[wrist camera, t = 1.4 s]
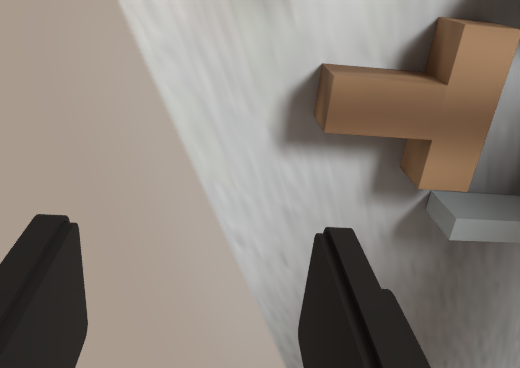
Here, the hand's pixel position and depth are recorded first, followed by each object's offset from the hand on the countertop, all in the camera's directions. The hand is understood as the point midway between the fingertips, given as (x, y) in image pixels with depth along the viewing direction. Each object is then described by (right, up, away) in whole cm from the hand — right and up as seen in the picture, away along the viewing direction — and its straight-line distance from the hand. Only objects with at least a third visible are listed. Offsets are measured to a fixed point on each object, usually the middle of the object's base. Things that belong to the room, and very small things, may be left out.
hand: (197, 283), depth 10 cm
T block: (+9, +7, +17) cm, 20 cm away
